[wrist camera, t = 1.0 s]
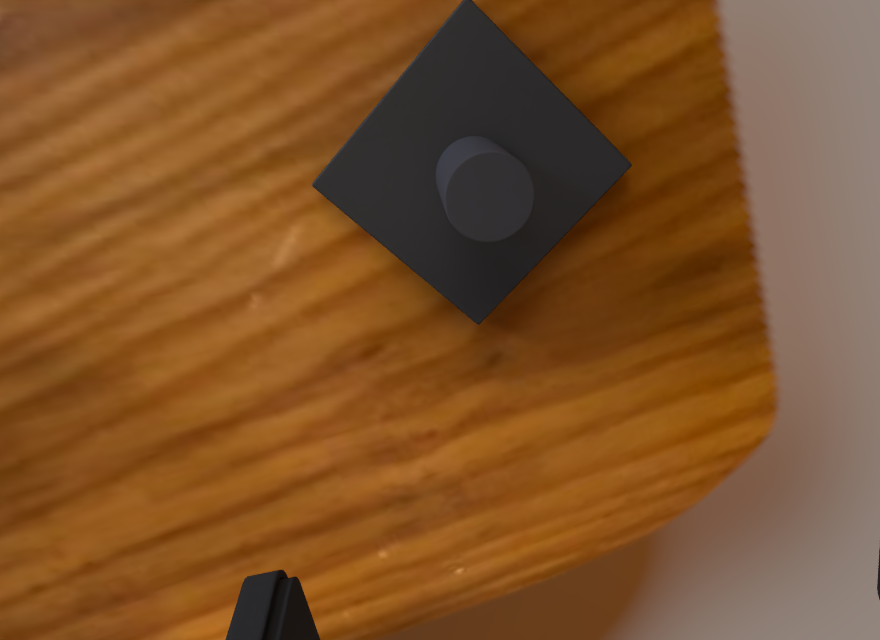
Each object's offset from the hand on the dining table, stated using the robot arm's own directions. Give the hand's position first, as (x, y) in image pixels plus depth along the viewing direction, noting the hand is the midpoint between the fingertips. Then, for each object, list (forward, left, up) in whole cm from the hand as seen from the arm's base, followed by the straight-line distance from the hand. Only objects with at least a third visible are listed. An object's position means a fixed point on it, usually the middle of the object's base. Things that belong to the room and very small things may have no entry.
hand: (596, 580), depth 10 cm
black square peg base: (-3, -3, -19) cm, 19 cm away
